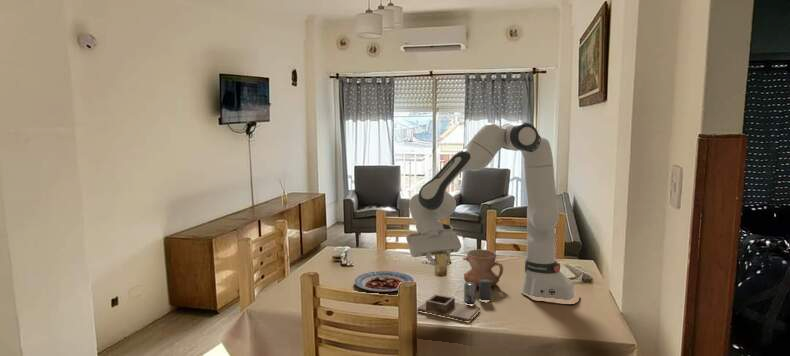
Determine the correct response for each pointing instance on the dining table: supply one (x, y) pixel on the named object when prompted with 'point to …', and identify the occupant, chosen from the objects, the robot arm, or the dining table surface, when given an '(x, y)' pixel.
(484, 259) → the ceramic jug
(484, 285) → the grey rounded cylinder
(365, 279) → the ceramic plate
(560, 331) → the dining table surface
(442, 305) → the socket board
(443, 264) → the translucent yellow cylinder
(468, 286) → the dark steel roller
